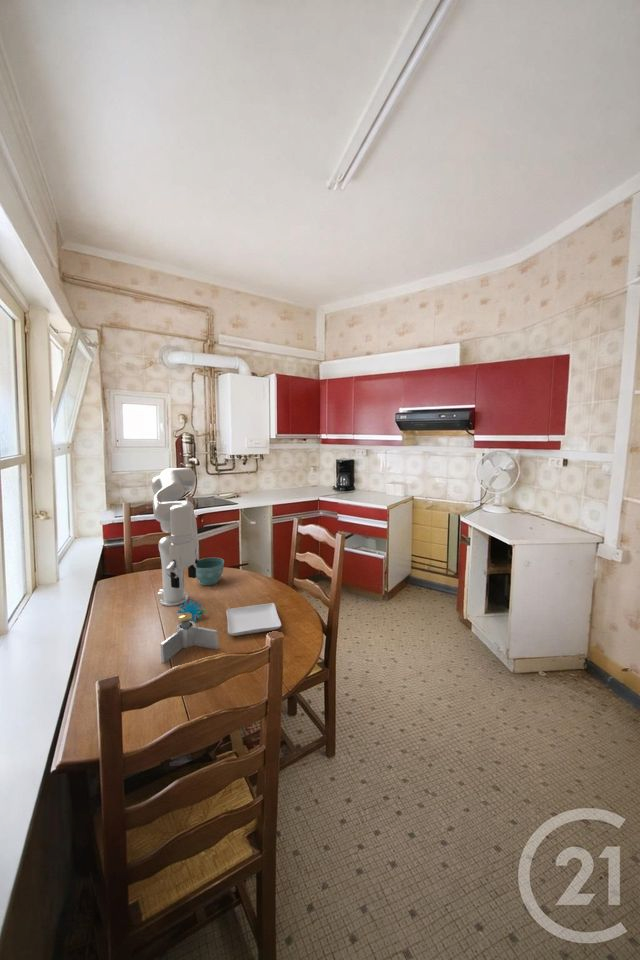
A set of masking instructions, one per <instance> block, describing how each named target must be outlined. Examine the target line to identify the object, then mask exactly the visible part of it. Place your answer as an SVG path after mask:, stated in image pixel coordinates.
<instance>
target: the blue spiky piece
mask: <svg viewBox="0 0 640 960" xmlns="http://www.w3.org/2000/svg"><path fill="white" fill-rule="evenodd" d="M193 601H194V600H193V599H189V603H188V600H187V601H184V603H182V604H179V608H180V609H178V610H177V614H181V613H185V612H190V613H192V618H191V619H190V621H193V622H195V623H196V622H197V619H200V618H201V616H202V614H204V612H205V611H206V608H202V604H201V603H200V604H199V602H198V600H195V601H194V602H193ZM183 604H184V605H183ZM183 606H184V607H183ZM201 608H202V609H201ZM181 609H182V610H181ZM196 615H197V618H196ZM192 619H193V620H192Z"/></svg>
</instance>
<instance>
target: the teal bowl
mask: <svg viewBox="0 0 640 960" xmlns="http://www.w3.org/2000/svg"><path fill="white" fill-rule="evenodd" d="M224 564H225V560H224V559H223V558H220V557H206V558H205V557H204V558H201V559H198V562H197V564H196V565H197V567H196V578H195V579H196V580H198V581H199V583H200V585H202V586H212V585H215V584H217V583H218V582H219V580H220V578H221V577H222V574H223V572H224V566H225V565H224Z"/></svg>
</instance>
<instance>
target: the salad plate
mask: <svg viewBox="0 0 640 960" xmlns="http://www.w3.org/2000/svg"><path fill="white" fill-rule="evenodd" d="M225 613H226V620H227V634H228V635H230V636H242V635H247V634H248V635H249V634H257V633H262V632H263V633H264V632H269V631H275V630H278V629H280V628H281V627H282V622H281V620H280V617H279V614H278V612H277V608H276V604H275V603H274V602H269V603H263V604H254V605H253V604H252V605H247V606H241V607H233V608H227V609H226V612H225Z"/></svg>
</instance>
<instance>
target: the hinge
mask: <svg viewBox="0 0 640 960" xmlns="http://www.w3.org/2000/svg"><path fill="white" fill-rule="evenodd" d="M176 625H177V626H176V631H175V632H174V633H172V634H171V635H170V636H169V637H168V638H166V639H165V640H163V641H162V642H161V643H160V644H159V645H160V658H161V659H160V661H161V663H162V664H165V663H166V662H168V661H169V659H171V658H172V657H173V656H174V655H176V654H177V653H178V652H179V651H181V650H182V649H184V648H191V647H192V646H196V647H203V648H206V649H212V650H215V651H216V650H218V649H219V639H218V638H219V637H218V633H219V632H218V630H216V629H212V628H208V627H207V628H206V627H202V626H201V627H200V626H197V625H196V622H193V620H191V621H190V627H189V628H185V629H183V628H181V622H179V623H178V624H176Z"/></svg>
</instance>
